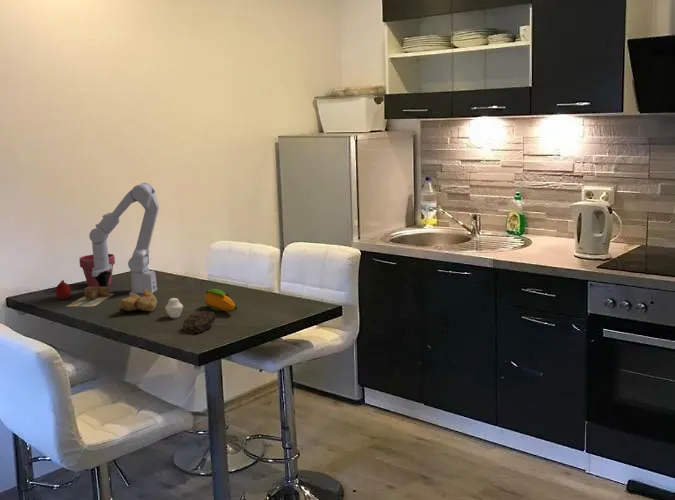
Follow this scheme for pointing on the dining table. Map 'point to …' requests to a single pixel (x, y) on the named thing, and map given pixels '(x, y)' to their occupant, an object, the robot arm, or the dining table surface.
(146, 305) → the ginger root
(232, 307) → the corn
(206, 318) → the dark brown lumpy piece
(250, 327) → the dining table surface
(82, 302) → the board
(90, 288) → the t block
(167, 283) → the dining table surface
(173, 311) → the white jar
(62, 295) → the onion
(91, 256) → the plant pot
